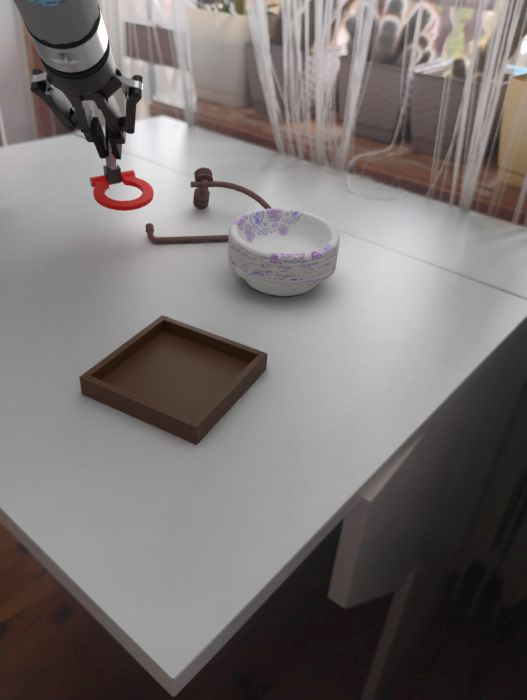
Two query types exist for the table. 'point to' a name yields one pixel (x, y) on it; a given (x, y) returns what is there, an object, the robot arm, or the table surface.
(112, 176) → the tow hook
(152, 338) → the tray
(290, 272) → the paper bowls
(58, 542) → the table surface
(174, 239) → the toilet paper hanger
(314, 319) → the table surface
